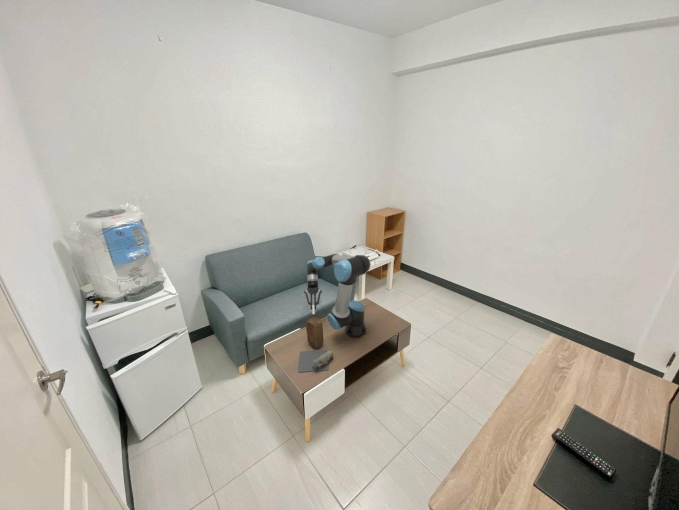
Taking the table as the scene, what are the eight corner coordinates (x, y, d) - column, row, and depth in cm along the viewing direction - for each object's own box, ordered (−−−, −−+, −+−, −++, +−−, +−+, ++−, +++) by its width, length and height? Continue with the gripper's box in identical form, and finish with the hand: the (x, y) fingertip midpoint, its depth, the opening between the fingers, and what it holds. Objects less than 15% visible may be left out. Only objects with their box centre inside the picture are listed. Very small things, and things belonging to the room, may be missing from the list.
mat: (327, 350, 178) (327, 349, 178) (328, 370, 163) (328, 369, 163) (299, 352, 177) (299, 351, 177) (298, 372, 162) (298, 372, 161)
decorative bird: (335, 358, 171) (335, 349, 168) (317, 373, 160) (316, 364, 157) (329, 354, 174) (329, 345, 171) (311, 369, 163) (310, 359, 160)
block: (324, 345, 183) (323, 320, 175) (316, 351, 178) (314, 326, 170) (314, 337, 190) (312, 313, 182) (305, 343, 185) (303, 318, 177)
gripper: (321, 282, 200) (323, 314, 191) (304, 283, 199) (304, 315, 190) (321, 279, 193) (323, 313, 184) (303, 280, 192) (303, 314, 183)
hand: (313, 314), depth 187 cm, fingers closed
